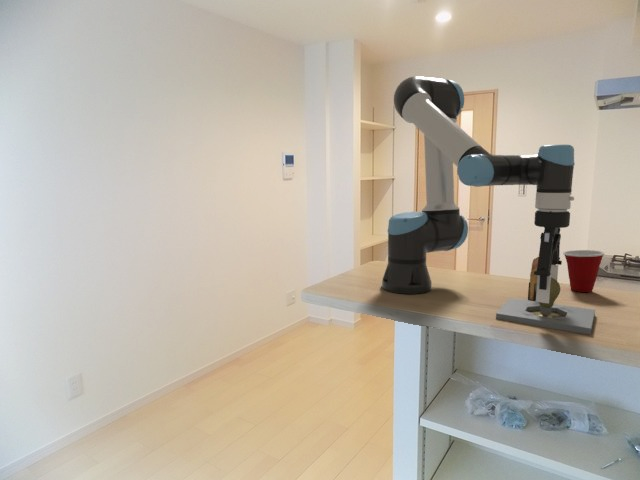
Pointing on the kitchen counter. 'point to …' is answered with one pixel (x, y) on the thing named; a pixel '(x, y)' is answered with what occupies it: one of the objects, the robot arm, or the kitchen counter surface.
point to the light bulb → (554, 292)
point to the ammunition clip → (533, 281)
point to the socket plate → (558, 319)
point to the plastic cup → (583, 268)
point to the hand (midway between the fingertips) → (546, 295)
